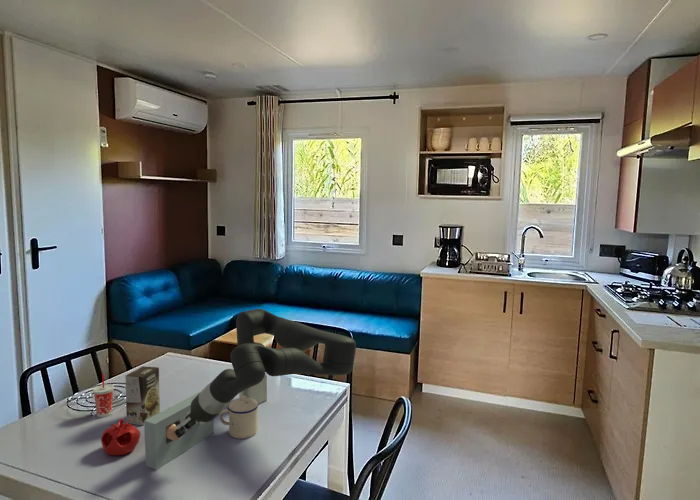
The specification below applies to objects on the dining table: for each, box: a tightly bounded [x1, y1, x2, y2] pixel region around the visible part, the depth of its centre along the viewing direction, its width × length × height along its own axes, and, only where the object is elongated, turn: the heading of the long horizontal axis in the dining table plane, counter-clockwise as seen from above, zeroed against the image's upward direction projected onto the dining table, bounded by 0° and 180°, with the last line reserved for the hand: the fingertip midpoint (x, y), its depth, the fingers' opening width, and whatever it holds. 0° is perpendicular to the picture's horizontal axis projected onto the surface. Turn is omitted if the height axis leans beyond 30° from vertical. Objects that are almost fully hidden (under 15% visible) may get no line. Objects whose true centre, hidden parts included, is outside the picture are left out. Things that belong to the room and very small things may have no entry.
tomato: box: [100, 418, 141, 456], centre depth 130 cm, size 10×10×9 cm
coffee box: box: [125, 365, 161, 426], centre depth 148 cm, size 9×6×16 cm
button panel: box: [143, 391, 215, 471], centre depth 131 cm, size 4×22×13 cm, turn 155°
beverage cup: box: [92, 373, 115, 418], centre depth 150 cm, size 6×6×14 cm
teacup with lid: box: [218, 395, 259, 439], centre depth 141 cm, size 12×9×12 cm
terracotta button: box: [166, 423, 179, 441], centre depth 126 cm, size 7×4×4 cm, turn 65°
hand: (178, 433), depth 124 cm, fingers closed
